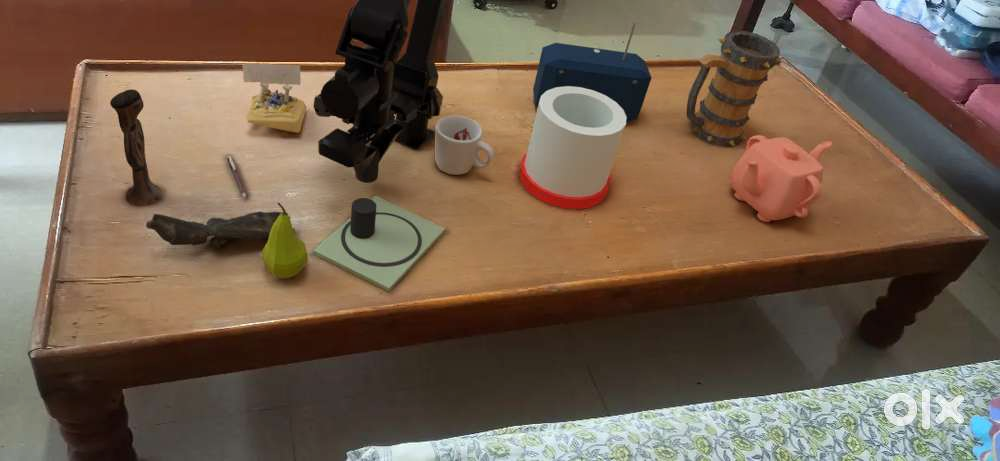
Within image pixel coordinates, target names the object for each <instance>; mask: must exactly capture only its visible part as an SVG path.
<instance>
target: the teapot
mask: <svg viewBox="0 0 1000 461" xmlns="http://www.w3.org/2000/svg"><path fill="white" fill-rule="evenodd" d="M832 145H833V143H832V141H830V140H829V141H828V140H826V141H823V142H820V143H819V144H818V145H817V146H815V148H813V149H812V150H811V151H810V152H807V151H806V150H805V149H803V148H802V147H800V146H799V145H798V144H796V143H795V142H793V141H792V140H790V139H788V138H787V137H784V136H782V137H774V138H767V137H766V136H764V135H761V134H756V135H753V136H751V137H750V138H749V139H748V140H747V142H746V147H745V152H744V153H743V155H742V156H741V157H740V158H739V160H738V161H737V163H736V164H735V166H734V168H733V170H732V172H731V173H730V186H731V188H732V189H733V190H734V191H735V192H734V193H733V196H734V198H736V199H737V200H739V201H742V202H745V203H747V205H749V206H750V207H752V208H753V209H754V210H755V211H756V212H758V213H757V215H756V216H757V218H758V219H759V220H760V221H762V222H765V223H767V222H768V223H770V222H771V221H779V220H784V219H788V218H791V217H794V216H795V217H798V218H801V219H804V218H806V217H807V216H808V215H809V209H810V208H811V207H812V206H813V204H814V203H815V202H816V200H817V199H818V198H819V197H820V196H821V194H822V190H823V189H822V181H823V175H824V167H823V165H822V164H821V163H820V162H819V161H820V159H821V157H822V156H823V155H824V153H825V151H826V150H828V149H829V148H830V147H831V146H832Z"/></svg>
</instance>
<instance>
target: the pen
mask: <svg viewBox="0 0 1000 461" xmlns="http://www.w3.org/2000/svg"><path fill="white" fill-rule="evenodd" d="M226 160H227V162H228V165H229V168H230V170H231V173H232V175H233V177H234V181H235V182H236V185H237V186H238V189H239V192H240V194H241V196H242V197H243V198H244V199H246V198H247V192H246V190H245V187H244V185H243V182H242V179H241V177H240V174H239V172H238V170H237V167H236V165H235V163H234V160H233V157H232V156H231V155H230V154H227V156H226Z"/></svg>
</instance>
